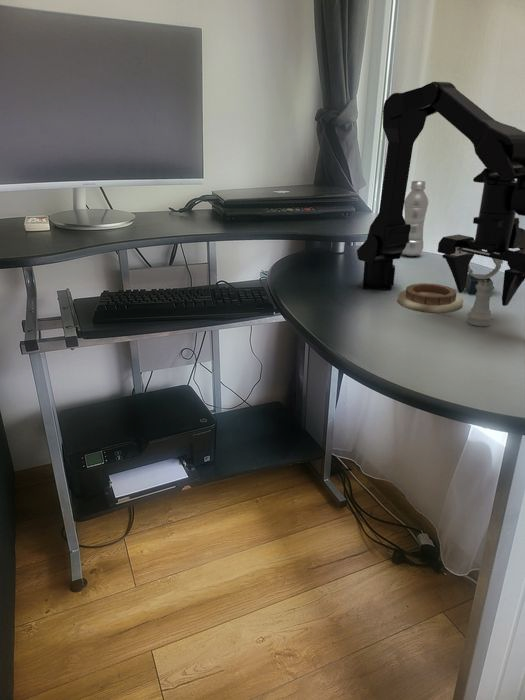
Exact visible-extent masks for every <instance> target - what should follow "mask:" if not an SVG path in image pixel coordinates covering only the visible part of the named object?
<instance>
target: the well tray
mask: <svg viewBox="0 0 525 700" xmlns="http://www.w3.org/2000/svg"><path fill="white" fill-rule="evenodd" d="M397 302H398V303H399V304H400V305H401V306H402V307H405V308H407V309H410V310H414V311H417V312H418V311H419V312H425V313H440V314H441V313H451V312H456V311H458V310H460V309H462V307H463V304H464V299H463V297H461V296H460V295H458V294H457V291H456V289H455V288H452V287H450V286H447V285H444V284H443V285H442V284H436V283H423V282H422V283H413V284H410V285H408V286H406V289H405V290H403V291H400V292H399V293H398V294H397Z"/></svg>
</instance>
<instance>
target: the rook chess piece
mask: <svg viewBox="0 0 525 700" xmlns="http://www.w3.org/2000/svg"><path fill="white" fill-rule="evenodd" d="M475 287H476V289H477V293H476V294H475V295H474V296H475V300H474V302H473V306H472V308H470V311H468V312H467V317H466V322H467V323H468V324H469V325H471V326H474V327H480V328H485V327H489V326H490V325H491V324H492V323H493V321H492V319H493V315H492V312H491V310H490V300H491V298H492V291H494V290H495V286H494V282H493V280H492V281H489V283H487V280H484V282H482V280H479V281H478V284H477V285H476V286H475Z"/></svg>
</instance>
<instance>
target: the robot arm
mask: <svg viewBox="0 0 525 700" xmlns="http://www.w3.org/2000/svg"><path fill="white" fill-rule="evenodd" d="M436 113H438V114H439V115H440V116H441V117H443V118H444V119H445V120H446V121H447V122H448V123H450V124H451V125H452V126H453V127H454V128H455V129H457V131H459V133H461V135H462V134H463V136H465V137H466V138H467V139H468V140H469V141H470V142H471V144H472V146H473V149H474V153H475V155H476V156H477V157H478V159H479V160H480V162H481V163H482V164H483V165H484V167H485V168H484V169H483V170H482V171H481V172H480V173H479V174H477V175H476V176H474V177H473V182H474V183H481V184H483V188H482V195H481V200H480V206H479V213H478V216H475V217H473V221H472V223H473V224H475V225H477V227H476V232H475V236H474V237H475V239H474V237H473V236H468V235H463V234H459V233H457V234H453V235H447V236H443V237H441V239H440V240H439V242H438V245H437V253H440V254H442V259H445V260H446V263H447V265H448V267H449V269H450V272H451V274H452V277H453V280H454V282H455V285H456V287H457V291H458V293H460V294H461V293H462V294H463V293H464V292H465V290H466V288H465V286H466V281H467V274H469V273H468V268H469V267H470V263H471V261H472V259H473V258H474V257H475V255H476V256H481V257H485V258H491V259H492V258H494V259H499V260H503V262H507V266H508V267H509V268H508V269H504V276H503V284H502V285H503V286H502V295H501V303H502V304H501V305H502V306H503V307H505V306H508V305H509V304H510V302H511V300H512V299H513V297H514V296H515V294H516V293H517V291H518V289H519V287H520V286H521V284H522V283H524V281H525V229H524V228H522V227H520V218H519V217H516V215H519V216H522V217H525V131H523V130H522V129H519V128H517V127H516V126H512V125H510V124H506V123H503V122H500V121H498V120H496V119H494V118H493V117H492V116H490V114H488V113H487V112H485V110H484V109H482V108H480V107H479V106H478V105H477V104H475V103H474V102H473V101H472V100H471V99H470V98H468V97H467V96H466V95H465V94H464V93H462V92H460V91H459V90H458V89H457V87H456V86H455V85H454V84H453V83H451V82H450V81H432V82H429V83H427V84H425V85H423V86H421V87H417V88H413V89H411V90H407V91H404V92H394V93H392V94H391V95H389V97H388V98H387V99H386V100H384V104H383V109H382V129H383V132H384V134H385V137H386V140H387V150H386V157H385V165H384V172H383V180H382V187H381V195H380V201H379V202H380V203H379V209H378V213H377V215H376V217H375V218H374V220H373V221H372V223H371V224H370V226H369V229H368V233H367V238H366V240H364V242H363V243H362V244H361V245H360V246H359V247H358V248H357V249H356V254H357V259H358V261H362V262H364V264H363V265H364V266H363V275H362V276H363V278H362V284H361V289H365V290H366V289H368V290H369V289H370V290H387V291H388V290H390V291H391V290H392V286H393V285H394V283H395V273H396V265H395V264H394V260H401V256H402V255H403V254H402V252H403V250H404V249H405V247H406V244H407V243H409V233H410V230H411V225H410V224H406V223H405V220H404V219H405V217H404V206H405V205H404V201H405V199H406V192H407V188H408V182H409V174H410V168H411V162H412V161H411V160H412V155H413V148H414V143H415V142H416V140H417V138H418V137H419V136H420V135H421V133H422V131H423V129H424V128H425V123H426V121H427V117H429V116H431V115H434V114H436ZM510 249H512V250H510ZM513 249H514V250H513ZM515 249H516V250H515ZM517 249H518V250H517ZM495 253H500V254H495Z"/></svg>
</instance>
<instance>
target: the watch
mask: <svg viewBox="0 0 525 700" xmlns="http://www.w3.org/2000/svg"><path fill="white" fill-rule="evenodd" d="M495 254H500V253H495ZM491 259H492V261H493V263H494V264H495V267H494V269H492V271H490V272H489V273H486V274H477V273H476V274H475V273H473V270H472V269H471V267H470V266H469V268H468V274H467V281H466V286H465V290H466V291H467V293H468V295H471V296H473V295H474V296H476V295H475V294H476V293H477V289H476V287H475V286H476V285H477V284H478V281H479V280H482V282H484V280H487V283H489V281H492V282H493V280H492V279H491V278H492V277H494V276H495V275H496V274H498V272H499V271H500V270H501V268H502V264H503V263H504V261H503V260H499V259H494V258H491Z"/></svg>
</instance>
